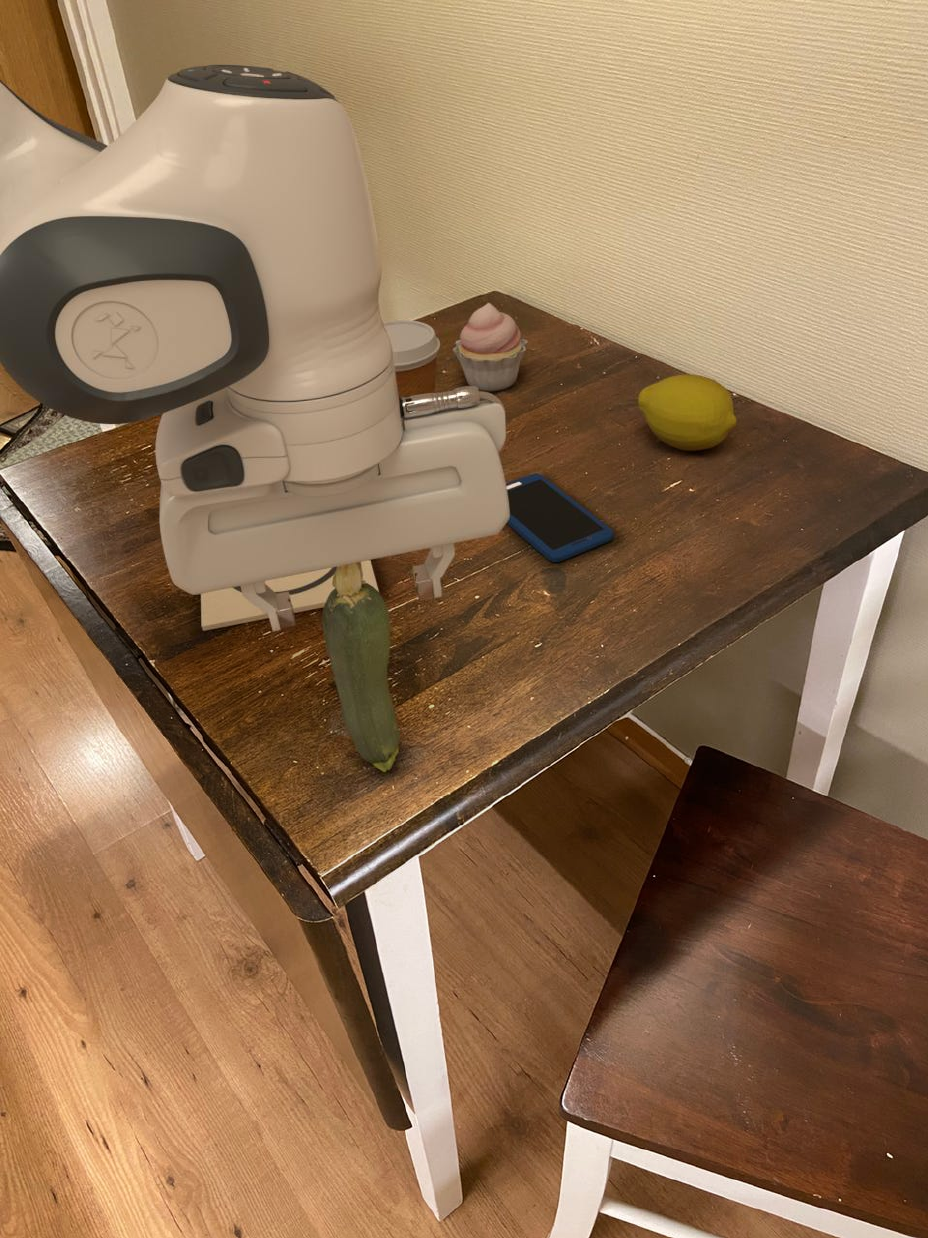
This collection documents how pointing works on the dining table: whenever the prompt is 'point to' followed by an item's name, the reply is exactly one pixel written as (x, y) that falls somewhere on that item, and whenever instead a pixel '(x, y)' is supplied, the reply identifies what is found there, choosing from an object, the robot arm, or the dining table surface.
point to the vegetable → (362, 664)
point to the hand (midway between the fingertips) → (357, 608)
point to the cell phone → (553, 519)
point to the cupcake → (490, 349)
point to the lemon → (688, 411)
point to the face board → (302, 589)
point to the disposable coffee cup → (413, 356)
